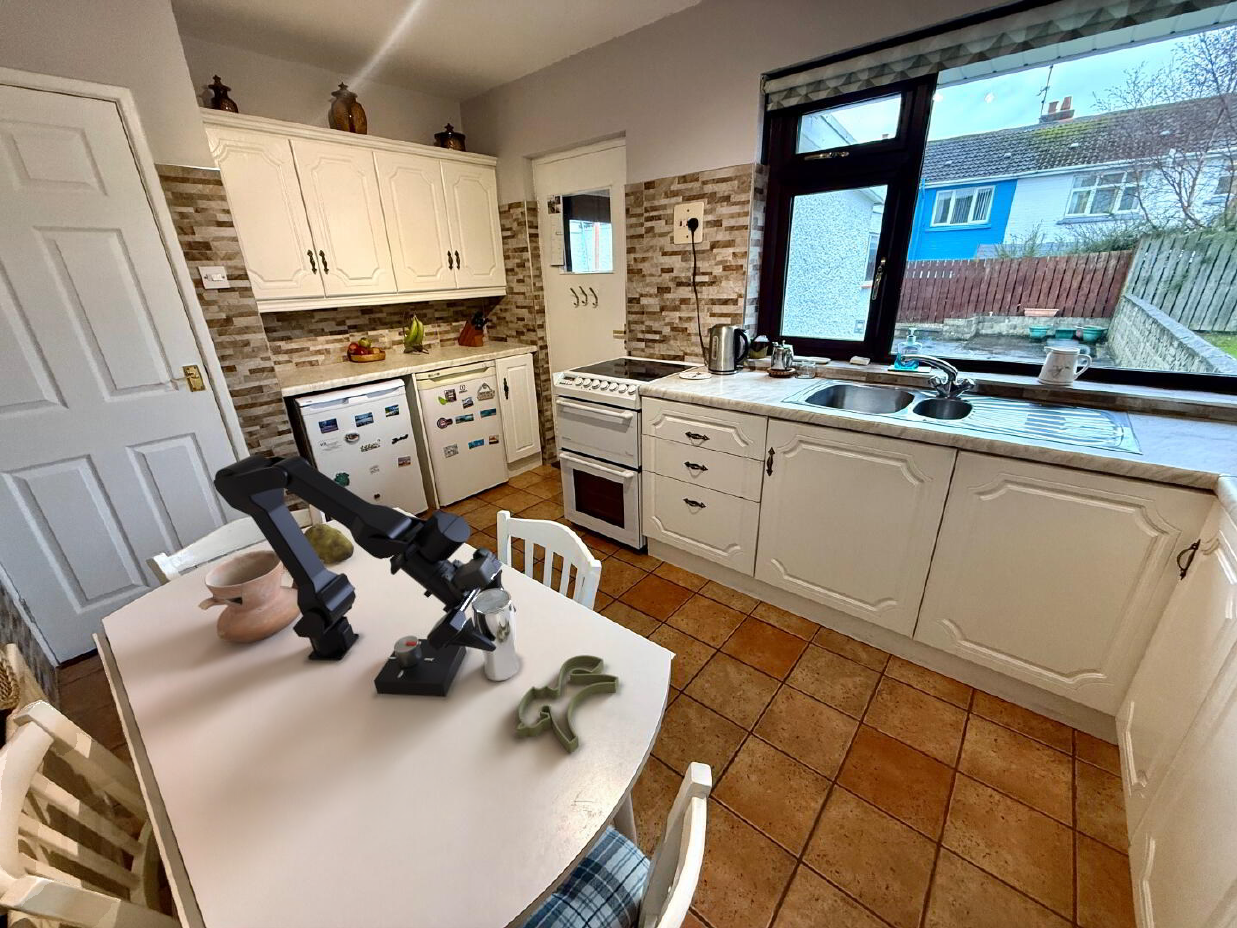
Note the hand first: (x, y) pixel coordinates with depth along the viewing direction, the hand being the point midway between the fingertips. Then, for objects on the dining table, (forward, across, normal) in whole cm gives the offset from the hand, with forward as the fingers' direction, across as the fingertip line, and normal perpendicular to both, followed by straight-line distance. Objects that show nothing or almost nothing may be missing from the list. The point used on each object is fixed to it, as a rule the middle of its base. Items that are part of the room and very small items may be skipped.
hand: (505, 630), depth 84 cm
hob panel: (-5, -3, +17) cm, 18 cm away
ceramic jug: (-32, +4, +44) cm, 55 cm away
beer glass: (+5, 0, +7) cm, 9 cm away
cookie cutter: (+15, -6, -2) cm, 16 cm away
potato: (-35, +28, +47) cm, 65 cm away
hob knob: (-8, -3, +16) cm, 18 cm away
